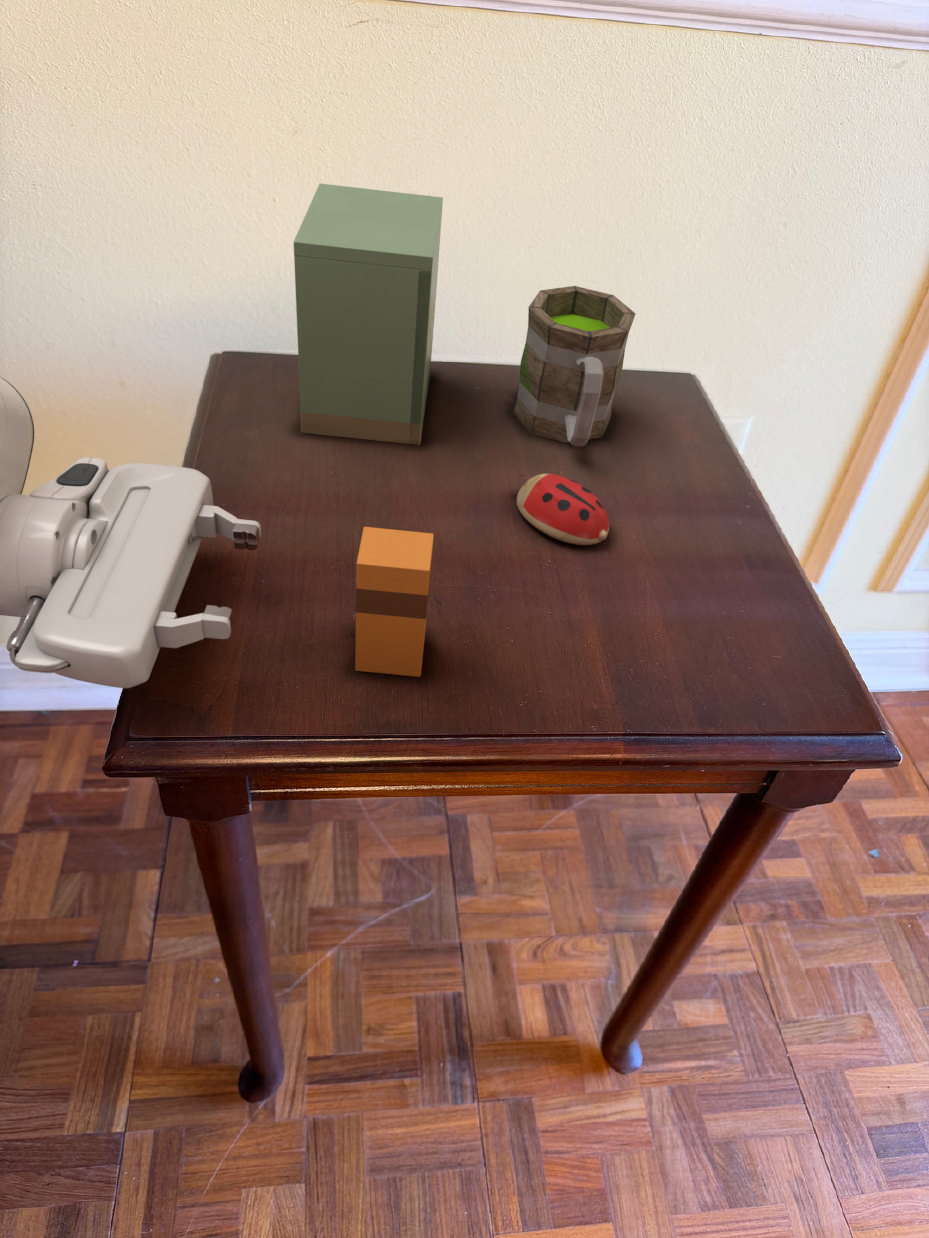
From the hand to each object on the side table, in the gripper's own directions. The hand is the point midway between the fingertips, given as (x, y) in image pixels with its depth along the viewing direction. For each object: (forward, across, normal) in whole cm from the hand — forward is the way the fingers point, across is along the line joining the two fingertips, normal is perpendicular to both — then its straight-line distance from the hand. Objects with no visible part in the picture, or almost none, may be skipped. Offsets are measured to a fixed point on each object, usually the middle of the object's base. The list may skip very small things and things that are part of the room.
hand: (246, 577), depth 65 cm
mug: (+26, +34, +7) cm, 44 cm away
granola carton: (+11, 0, +6) cm, 13 cm away
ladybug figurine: (+25, +18, +7) cm, 32 cm away
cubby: (+5, +36, +7) cm, 36 cm away
